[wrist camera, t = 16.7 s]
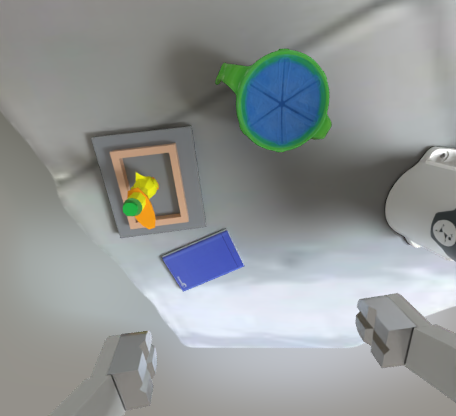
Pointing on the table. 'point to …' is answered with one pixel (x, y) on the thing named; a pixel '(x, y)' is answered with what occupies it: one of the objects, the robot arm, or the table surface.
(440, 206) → the robot arm
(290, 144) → the snack cup
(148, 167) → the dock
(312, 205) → the table surface
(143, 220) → the toy figure
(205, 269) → the hard drive
